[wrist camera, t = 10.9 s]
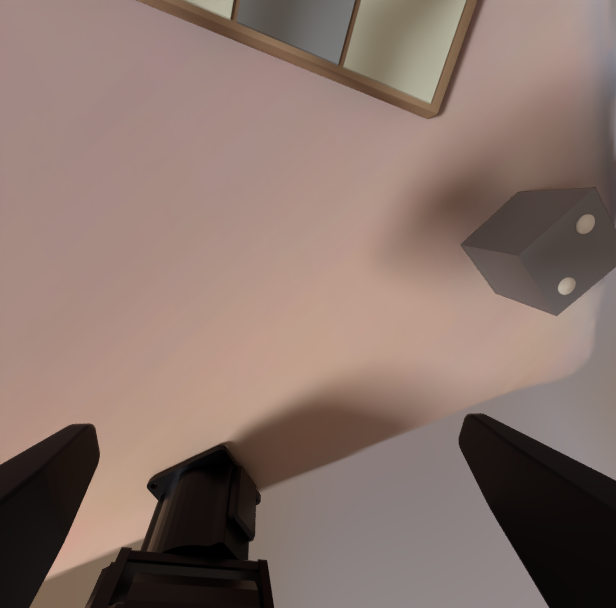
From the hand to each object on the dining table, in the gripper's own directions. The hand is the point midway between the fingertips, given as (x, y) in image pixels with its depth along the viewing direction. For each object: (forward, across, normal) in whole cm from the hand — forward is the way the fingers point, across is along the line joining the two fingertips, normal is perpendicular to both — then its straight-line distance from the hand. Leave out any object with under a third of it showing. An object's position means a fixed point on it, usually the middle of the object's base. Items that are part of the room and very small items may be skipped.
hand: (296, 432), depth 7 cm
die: (+13, -16, -4) cm, 21 cm away
